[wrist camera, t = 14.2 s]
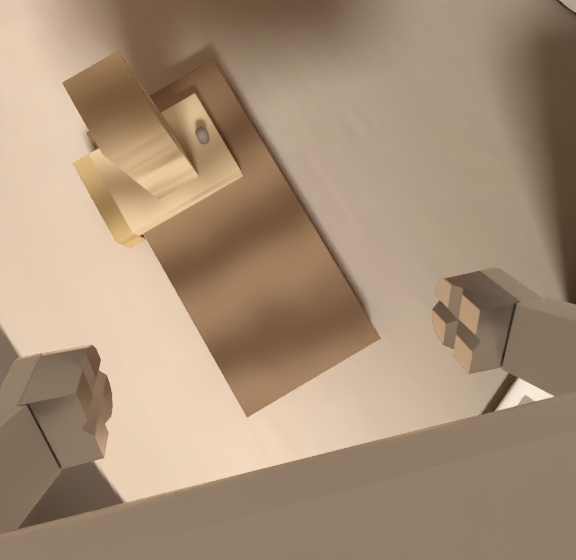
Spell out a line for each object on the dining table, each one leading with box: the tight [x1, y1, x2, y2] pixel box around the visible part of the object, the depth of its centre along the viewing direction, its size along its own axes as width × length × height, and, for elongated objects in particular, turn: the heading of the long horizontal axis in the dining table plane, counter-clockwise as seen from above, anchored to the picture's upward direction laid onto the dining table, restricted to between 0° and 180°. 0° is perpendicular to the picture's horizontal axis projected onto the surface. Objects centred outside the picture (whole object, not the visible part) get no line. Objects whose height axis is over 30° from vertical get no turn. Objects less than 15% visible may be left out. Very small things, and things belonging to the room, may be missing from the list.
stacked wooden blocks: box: [63, 51, 243, 248], centre depth 25 cm, size 6×9×10 cm, turn 120°
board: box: [87, 60, 381, 417], centre depth 30 cm, size 22×10×2 cm, turn 30°
